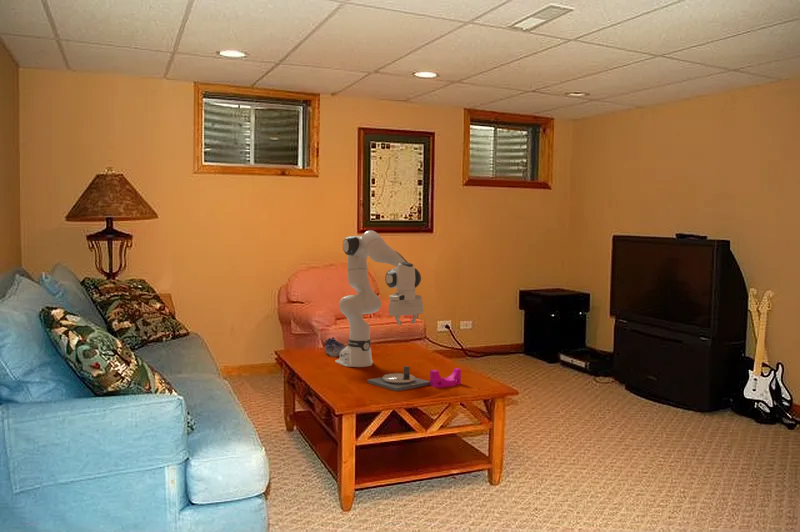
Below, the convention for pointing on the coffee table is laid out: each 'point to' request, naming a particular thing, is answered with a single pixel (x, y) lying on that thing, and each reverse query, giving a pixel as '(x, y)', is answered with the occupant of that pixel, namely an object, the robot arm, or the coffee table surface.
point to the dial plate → (398, 387)
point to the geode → (333, 347)
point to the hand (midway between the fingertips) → (406, 324)
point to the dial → (400, 377)
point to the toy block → (445, 382)
